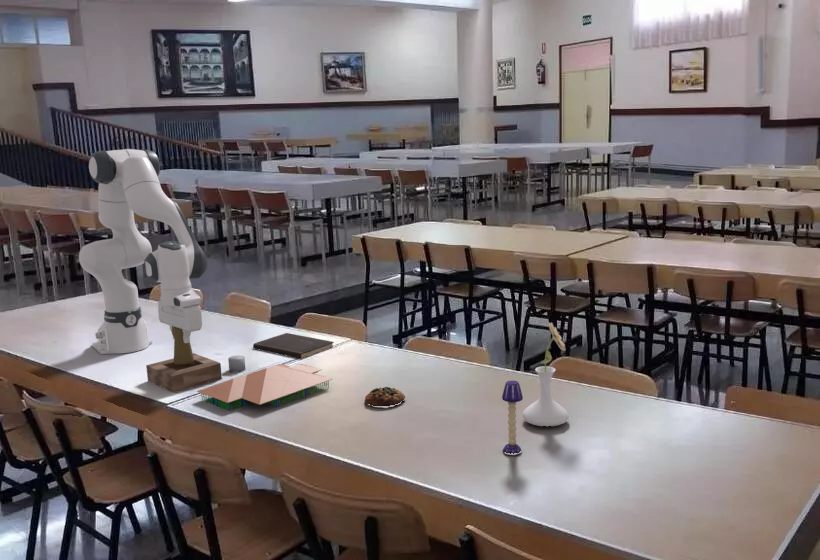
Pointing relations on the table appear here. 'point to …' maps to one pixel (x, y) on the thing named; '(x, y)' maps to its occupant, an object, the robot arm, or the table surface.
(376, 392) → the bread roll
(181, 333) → the cork
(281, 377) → the house
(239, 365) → the short stub
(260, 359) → the table surface
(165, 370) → the box
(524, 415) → the flower in vase
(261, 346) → the hardcover book
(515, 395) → the toy lamp
